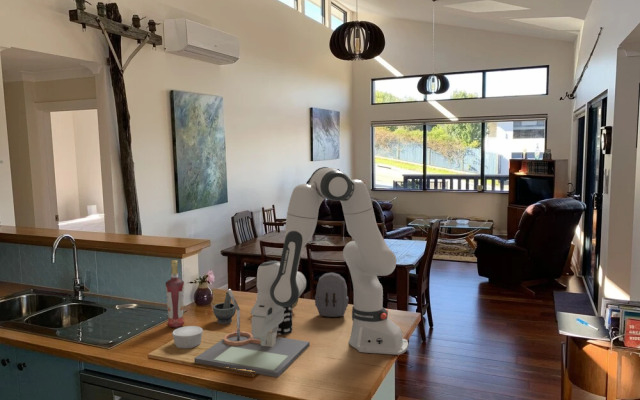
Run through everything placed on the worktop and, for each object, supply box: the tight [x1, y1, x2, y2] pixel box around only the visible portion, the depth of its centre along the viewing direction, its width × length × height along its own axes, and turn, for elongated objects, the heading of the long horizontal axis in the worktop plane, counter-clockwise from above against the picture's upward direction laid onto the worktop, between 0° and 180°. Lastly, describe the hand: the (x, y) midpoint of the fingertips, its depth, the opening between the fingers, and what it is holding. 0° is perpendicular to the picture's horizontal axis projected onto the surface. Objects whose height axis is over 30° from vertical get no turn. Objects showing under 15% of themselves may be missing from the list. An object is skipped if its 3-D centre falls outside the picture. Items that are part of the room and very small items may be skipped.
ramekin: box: [172, 325, 204, 349], centre depth 184 cm, size 11×11×5 cm
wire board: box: [194, 330, 311, 378], centre depth 176 cm, size 32×28×2 cm
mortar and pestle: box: [212, 291, 237, 325], centre depth 209 cm, size 11×9×12 cm
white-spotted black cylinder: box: [277, 306, 293, 336], centre depth 197 cm, size 8×8×20 cm
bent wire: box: [227, 288, 241, 341], centre depth 181 cm, size 1×8×22 cm, turn 159°
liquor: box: [165, 259, 185, 329], centre depth 202 cm, size 7×7×28 cm
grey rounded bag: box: [314, 272, 349, 318], centre depth 215 cm, size 15×8×20 cm, turn 81°
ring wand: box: [223, 330, 277, 347], centre depth 183 cm, size 20×11×4 cm, turn 70°
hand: (268, 340), depth 180 cm, fingers open, 7 cm apart
